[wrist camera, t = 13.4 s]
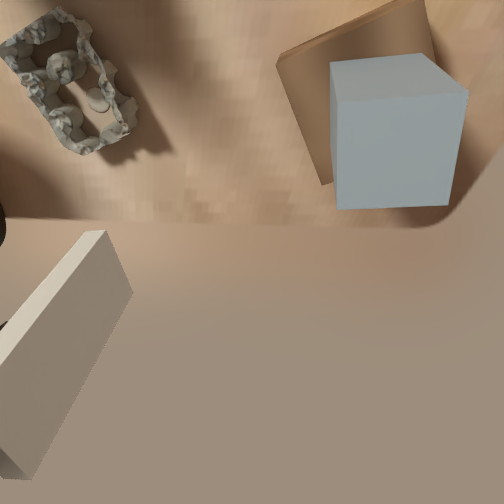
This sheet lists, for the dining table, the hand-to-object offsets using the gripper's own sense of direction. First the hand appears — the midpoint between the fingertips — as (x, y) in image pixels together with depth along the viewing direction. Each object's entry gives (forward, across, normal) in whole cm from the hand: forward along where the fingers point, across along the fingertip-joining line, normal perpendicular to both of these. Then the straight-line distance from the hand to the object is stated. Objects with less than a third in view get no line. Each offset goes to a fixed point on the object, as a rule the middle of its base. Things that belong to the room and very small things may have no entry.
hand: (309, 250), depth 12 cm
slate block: (+20, +4, -2) cm, 21 cm away
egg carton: (+26, -20, +2) cm, 33 cm away
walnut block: (+25, +4, -2) cm, 26 cm away
